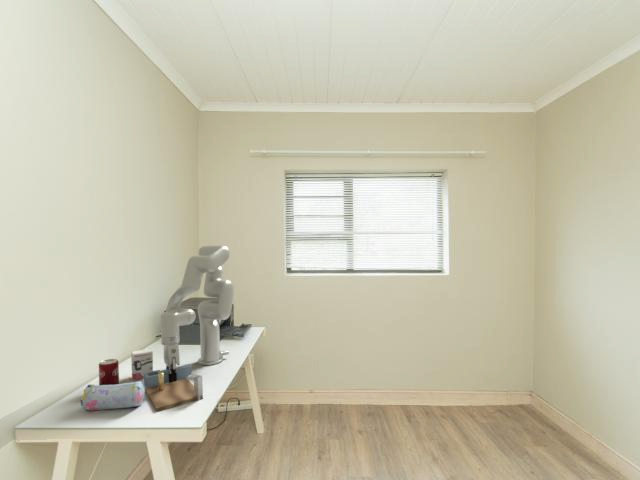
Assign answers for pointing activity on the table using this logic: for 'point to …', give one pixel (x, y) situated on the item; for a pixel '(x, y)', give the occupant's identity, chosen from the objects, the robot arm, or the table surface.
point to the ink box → (141, 363)
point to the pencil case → (113, 396)
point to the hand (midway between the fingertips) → (171, 379)
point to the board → (171, 394)
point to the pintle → (161, 381)
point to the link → (166, 375)
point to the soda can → (109, 372)
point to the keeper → (197, 385)
